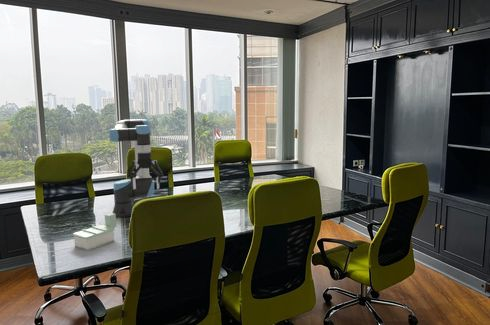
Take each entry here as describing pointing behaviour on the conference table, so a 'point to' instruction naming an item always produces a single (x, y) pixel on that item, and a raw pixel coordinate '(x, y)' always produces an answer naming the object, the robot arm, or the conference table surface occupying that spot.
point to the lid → (98, 228)
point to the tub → (94, 241)
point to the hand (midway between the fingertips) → (146, 188)
